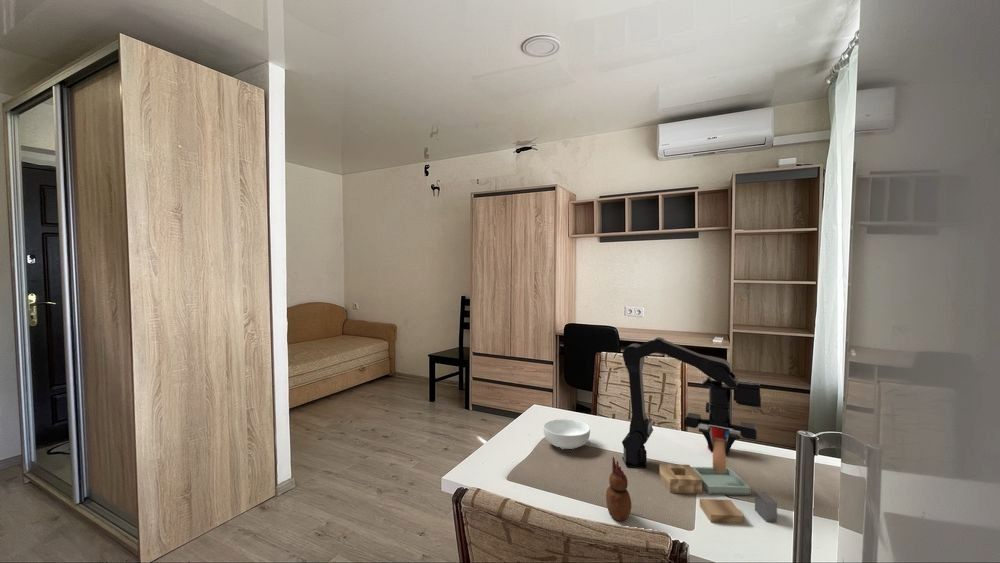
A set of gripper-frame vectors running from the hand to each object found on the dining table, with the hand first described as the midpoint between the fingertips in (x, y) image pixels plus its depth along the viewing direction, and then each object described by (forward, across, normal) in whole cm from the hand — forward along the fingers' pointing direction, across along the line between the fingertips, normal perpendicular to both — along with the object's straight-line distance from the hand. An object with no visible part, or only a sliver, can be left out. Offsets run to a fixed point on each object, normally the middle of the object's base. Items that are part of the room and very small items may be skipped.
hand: (719, 453), depth 120 cm
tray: (+9, 0, 0) cm, 9 cm away
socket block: (+9, +10, +7) cm, 15 cm away
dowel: (+5, 0, 0) cm, 5 cm away
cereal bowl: (+10, +50, 0) cm, 51 cm away
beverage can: (+10, +2, -24) cm, 26 cm away
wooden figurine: (+10, +21, +32) cm, 39 cm away
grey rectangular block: (+9, -12, +11) cm, 19 cm away
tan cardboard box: (+10, -2, +17) cm, 20 cm away
